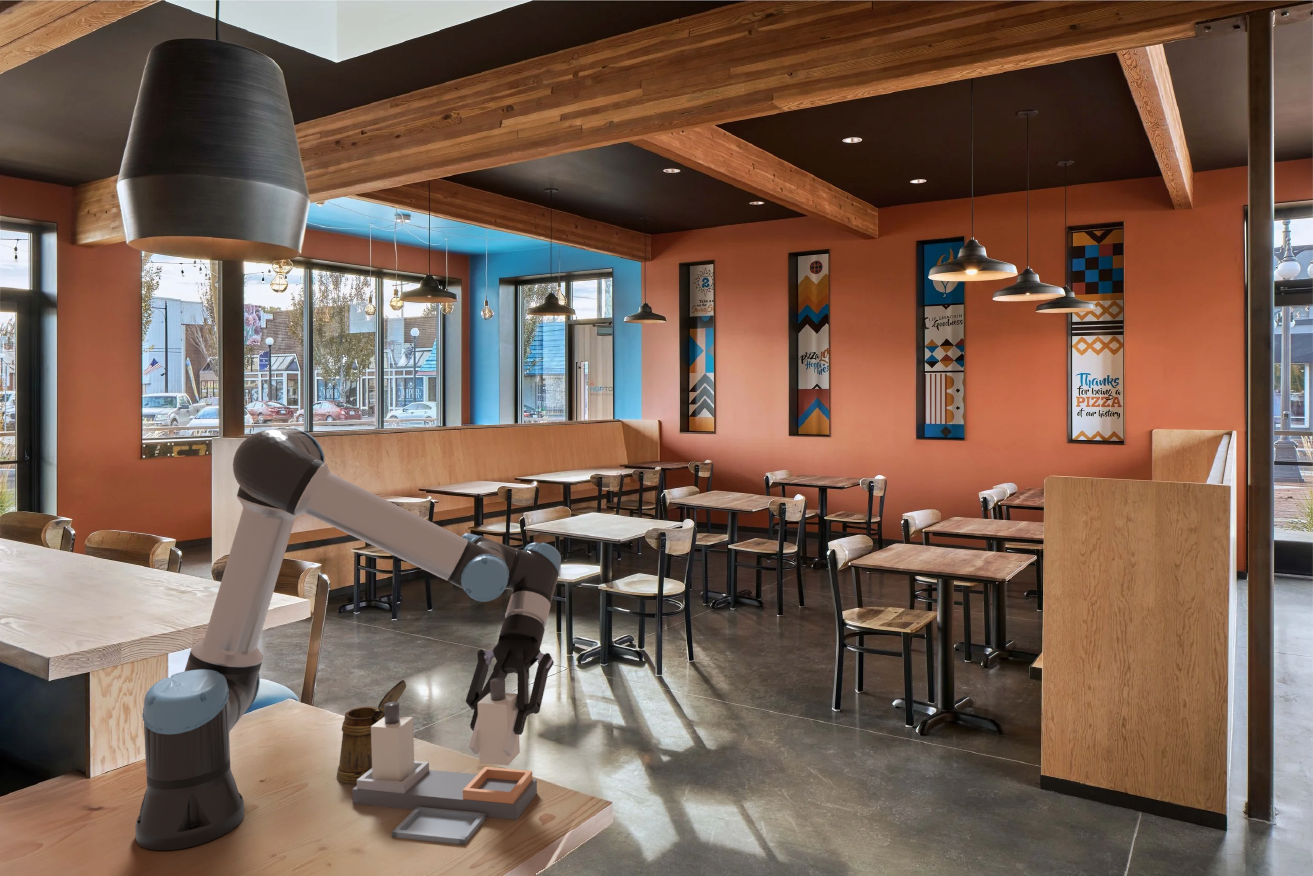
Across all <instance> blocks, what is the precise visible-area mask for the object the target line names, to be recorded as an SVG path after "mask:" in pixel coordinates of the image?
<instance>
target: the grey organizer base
mask: <svg viewBox="0 0 1313 876" xmlns="http://www.w3.org/2000/svg"><path fill="white" fill-rule="evenodd" d="M414 770H415V771H414V772H413V773H411V774H410V775H409V776H408V777H407V778H406V779H405V780H404V781H402V782H398V781H387V780H376V779H372V768H371V769H370V770H369V771H367V772H366V773H365V774H364V775H362V776H361V777H360V778H359V779H357V784H356V785H355V787H353V788H352V791H351V792H352V804H356V805H362V806H363V805H364V806H374V807H385V808H393V809H403V810H404V809H405V810H412V811H413V810H414V809H415V808H416V807H427V808H437V809H447V810H457V811H467V812H477V813H486V818H493V819H502V820H503V819H505V820H515V821H518V820H519V818H520V816H521V815H522V814H523V813H524V811H525V810H526V809H527V808H528V806H529V805H530V804H531V803H532V801H533V799H534V798H535V797H536V796H537V794H538V782H537V781H538V780H537V779H536V778H533V770H525V769H516V768H515V769H513V768H503V767H502V768H501V767H491V766H483V768H482V769H481V770H480V771H479V772H478V773H467V772H456V771H448V770H447V771H446V770H437V769H434V770H433V769H430V761H420V760H414Z"/></svg>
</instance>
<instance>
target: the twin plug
mask: <svg viewBox="0 0 1313 876" xmlns="http://www.w3.org/2000/svg"><path fill="white" fill-rule="evenodd" d="M384 712H385V717H383V718H382V719H381V720H379V721H378V722H376V723H375V724H374V725H372V726H371V747H372V779H376V780H387V781H398V782H402V781H404V780H405V779H406V778H407V777H408V776H409V775H410V774H411V773H413V772H414V771H415V770H414V761H415V744H414V741H415V740H414V737H415V736H414V734H415V733H414V716H413V717H412V716H404V715H403V716H402V715H400V702H398V701H397V702H389V703H386V704H385V705H384Z"/></svg>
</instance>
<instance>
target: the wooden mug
mask: <svg viewBox="0 0 1313 876" xmlns="http://www.w3.org/2000/svg"><path fill="white" fill-rule="evenodd" d="M406 688H407V684H406V681H405V680H404V679H402V680H400V681H399V682H397V683H396V684H395V685H394V686H393V687H392V688H390V690H389V691H387V693H386V694H385V695H384V697H383V698H382V699H381V700H380V702H379V704H378V707H373V706H361V707H357V708H352V709H350V710H348V711H346V712H345V714H344V720H343V721H342V726H341V731H342V738H341V748H340V755H339V763H338V766H337V772H336V778H337V781H339V782H340V783H343V784H350V785H351V784H352V785H357V779H359V778H360V777H361V776H362V775H364V774H365V773H366V772H367V771H369V770H370V769H371V768H372V747H371V726H372V725H374V724H375V723H376V722H378V721H379V720H381V719H382V718H383V717H385V712H384V705H385V704H386V703H389V702H398V701H399V699H400V698H401V696H402V695H403V693H404V692H405V690H406Z"/></svg>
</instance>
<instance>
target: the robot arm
mask: <svg viewBox="0 0 1313 876" xmlns="http://www.w3.org/2000/svg"><path fill="white" fill-rule="evenodd" d="M232 460H233V462H232V471H233V476H234V478H235V480H236V482H237V483H238V486H239V487H238V491H237V493H236V498H237V499H238V502H240V504H241V506H242V511H241V514H240V517H239V520H238V524H237V528H236V532H235V533H234V534H235V535H234V538H233V541H232V544H231V548H230V551H229V553H228V554H229V555H228V558H227V562H226V565H225V568H224V571H223V575H222V578H221V582H220V585H219V588H218V592H217V595H216V598H215V600H214V601H215V602H214V606H213V608H212V612H211V615H210V619H209V622H208V626H207V628H206V631H205V635H204V638H203V639H202V640H200V641H198V642H196V643H195V644H193V645H192V646H191V649H190V651H189V654H188V658H187V661H186V665H185V669H184V671H182V672H178V673H175V674H172V675H171V676H170V677H164V678H162V679H160V680H159V681H157V682H155V683H154V684H153V685H152V686H151V687H150V688H149V689H148V690H147V691H146V693H145V695H144V699H143V709H142V721H143V728H144V729H143V731H144V749H145V750H144V751H145V752H144V754H145V768H146V769H145V770H146V771H145V772H146V789H145V793H144V796H143V798H142V803H141V806H140V809H139V814H138V817H137V818H136V822H135V826H134V827H135V828H134V829H135V842H136V843H137V844H138V846H140V847H141V848H144V849H147V850H153V851H174V850H175V851H176V850H182V849H187V848H191V847H195V846H200V845H202V844H203V845H204V844H205V843H209V842H211V841H214V840H215V839H219V838H220V837H222V836H225V835H226V834H228V833H230V832H231V831H232V830H234V829H235V828H237V827H238V825H239V824H240V823H242V821H243V819H244V818H245V801H244V798H243V796H242V794H241V793H240V792H239V789H238V786H237V782H236V780H235V777H234V774H233V772H232V770H231V748H230V747H231V745H230V743H231V741H230V732H231V730H232V729H234V727H235V726H236V724H237V723H238V722H239V720H241V718H242V716H244V715H245V713H247V711H249V709H250V708H252V707H251V706H252V705H253V704H254V703H255V700H256V699H257V696H258V693H259V690H260V684H261V683H260V682H261V681H260V671H261V668H262V664H263V661H264V655H263V653H262V652H261V651H260V649H259V648H258V645H259V643H260V638H261V635H262V631H263V628H264V625H265V622H266V618H267V615H268V611H269V608H270V605H271V601H272V598H273V594H274V591H275V588H276V584H277V582H278V577H279V575H280V571H281V567H282V564H283V562H284V561H283V560H284V557H285V554H286V550H287V547H288V544H289V541H290V538H291V534H292V530H293V527H294V523H295V521H296V519H297V518H299V517H300V516H303V515H308V516H310V517H312V518H314V519H316V520H319V521H321V522H323V523H325V524H327V525H329V526H331V527H333V528H335V529H337V530H340V531H341V532H344V533H346V534H348V535H350V536H352V537H354V538H356V539H359V540H361V541H363V542H365V543H367V544H369V545H371V546H373V547H375V548H377V549H379V550H382V551H384V552H386V553H388V554H390V555H393V556H394V557H397V558H399V559H400V560H403V561H405V562H407V563H409V564H411V565H413V566H415V567H417V568H420V569H422V570H424V571H426V572H429V573H430V574H432V575H434V576H436V577H438V578H441V579H443V580H445V581H447V582H449V583H451V584H452V585H455V586H456V587H459V588H461V589H463V591H464V592H465V594H467V595H468V596H469V597H470V599H473V600H474V601H477V602H483V603H484V602H490V601H493V600H496V599H497V598H499V597H500V596H501V595H503V593H504V592H505V590H506V589H507V590H511V594H510V598H509V601H508V605H507V608H506V612H505V615H504V617H505V618H504V619H503V621H502V625H501V628H500V633H499V636H498V640H497V643H496V645H494V647H493V648H492V649H491V650H487V651H485V650H484V649H479V650H478V651H477V664H476V667H475V669H474V670H475V671H474V673H473V676H472V680H471V683H470V686H469V689H468V692H467V695H466V699H465V703H466V705H468V707H469V708H470V709H471V710H473V713H472V717H471V721H470V725H469V727H470V729H471V731H472V734H471V737H470V742H469V745H468V748H469V749H470V750H471V752H472V753H473V754H474V755H475V754H477V755H479V730H478V702H479V701H480V700H482V699H483V698H484V697H485V696H486V695H487V694H489V693H490V680H492V679H494V678H504V679H505V680H506V679H507V676H508V674H517V694H518V707H517V706H516V707H517V709H518V712H517V711H516V710H512V714H511V718H510V722H509V726H508V729H507V733H506V737H505V741H504V744H503V748H502V750H503V751H504V753H505V754H506V755H507V756H512V753H513V749H514V745H515V741H516V737H517V735H519V736H520V735H522V734H523V732H524V730H525V729H524V728H525V725H526V721H527V719H528V718H527V717H528V716H529V715H531V714H534V715H536V714H539V713H540V711H541V706H542V702H543V698H544V693H545V689H546V685H547V680H548V676H549V675H548V674H549V672H550V671H551V668H552V667H553V665H554V664H555V661H554V660H553V657H552V656H551V654H550V653H549V652H545V653H543V652H542V651H541V646H542V644H543V643H542V641H543V638H544V635H545V630H546V629H545V627H546V625H547V622H548V618H549V613H550V610H551V605H552V601H553V598H554V595H555V594H554V593H555V591H556V586H557V583H558V578H559V576H560V571H561V570H560V569H561V564H562V563H561V562H562V557H561V553H560V552H559V551H558V549H557V548H555V547H554V546H553V545H551V544H548V543H546V542H541V543H540V542H532V543H529V544H526V546H525V547H524V549H518V548H514V547H512V546H509V545H507V544H505V543H500V542H498V541H495V540H492V539H489V538H485V537H484V536H483V535H477V534H473V533H468V532H465V533H464V534H462V536H460V535H458V534H456V533H454V532H453V531H450V530H448V529H446V528H445V527H442V526H440V525H438V524H436V523H434V522H431V521H430V520H428V519H425V518H424V517H421V516H420V515H417V514H415V513H413V512H411V511H409V510H407V509H405V508H403V507H401V506H400V505H397V504H395V503H393V502H391V501H389V500H387V499H385V498H383V497H381V496H379V495H377V494H375V493H373V492H371V491H369V490H367V489H365V488H362V487H361V486H359V485H356V484H355V483H354V482H353V483H352V482H351V481H349V480H346V479H344V478H342V477H340V476H338V475H336V474H334V473H332V472H331V471H330V468H329V466H328V464H327V463H326V459H325V454H324V451H323V447H322V446H321V444H320V443H319V441H318V440H317V439H316V438H315V437H314V436H312V435H311V434H310V433H308V432H305V430H304V431H303V430H301V429H298V428H292V427H287V426H286V427H285V426H284V427H277V428H274V429H266V430H261V431H258V432H256V433H253V434H251V435H249V436H248V437H246V439H244V440H243V441H242V442H241V443H240V444H239V446H238V448H237V449H236V452H235V453H234V456H233V459H232ZM494 658H495V660H496V663H495V664H494V666H493V669H492V672H491V674H490V676H489V678H488V680H487V681H486V679H487V676H488V672H489V665H492V662H493V659H494ZM536 662H537V668H536V673H535V677H534V680H533V685H532V689H531V693H530V695H529V679H530V668H531V667H533V665H534V664H536ZM485 683H486V684H485ZM529 696H530V698H529Z"/></svg>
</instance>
